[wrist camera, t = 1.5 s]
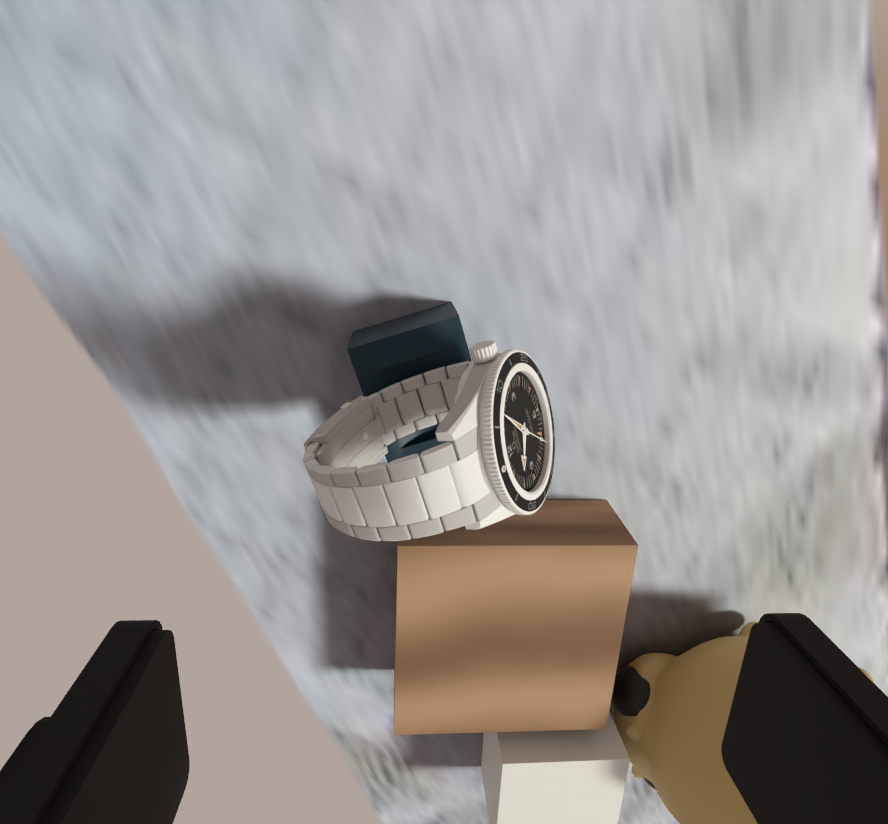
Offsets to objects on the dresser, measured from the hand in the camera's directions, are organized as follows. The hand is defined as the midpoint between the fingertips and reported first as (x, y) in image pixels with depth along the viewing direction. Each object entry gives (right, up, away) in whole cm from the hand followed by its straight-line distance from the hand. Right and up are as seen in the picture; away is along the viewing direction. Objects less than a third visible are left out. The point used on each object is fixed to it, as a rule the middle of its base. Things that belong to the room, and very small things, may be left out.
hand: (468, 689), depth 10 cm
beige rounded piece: (+14, -10, +23) cm, 29 cm away
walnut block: (+2, -4, +20) cm, 21 cm away
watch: (-1, +6, +16) cm, 18 cm away
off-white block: (+5, -13, +24) cm, 27 cm away
